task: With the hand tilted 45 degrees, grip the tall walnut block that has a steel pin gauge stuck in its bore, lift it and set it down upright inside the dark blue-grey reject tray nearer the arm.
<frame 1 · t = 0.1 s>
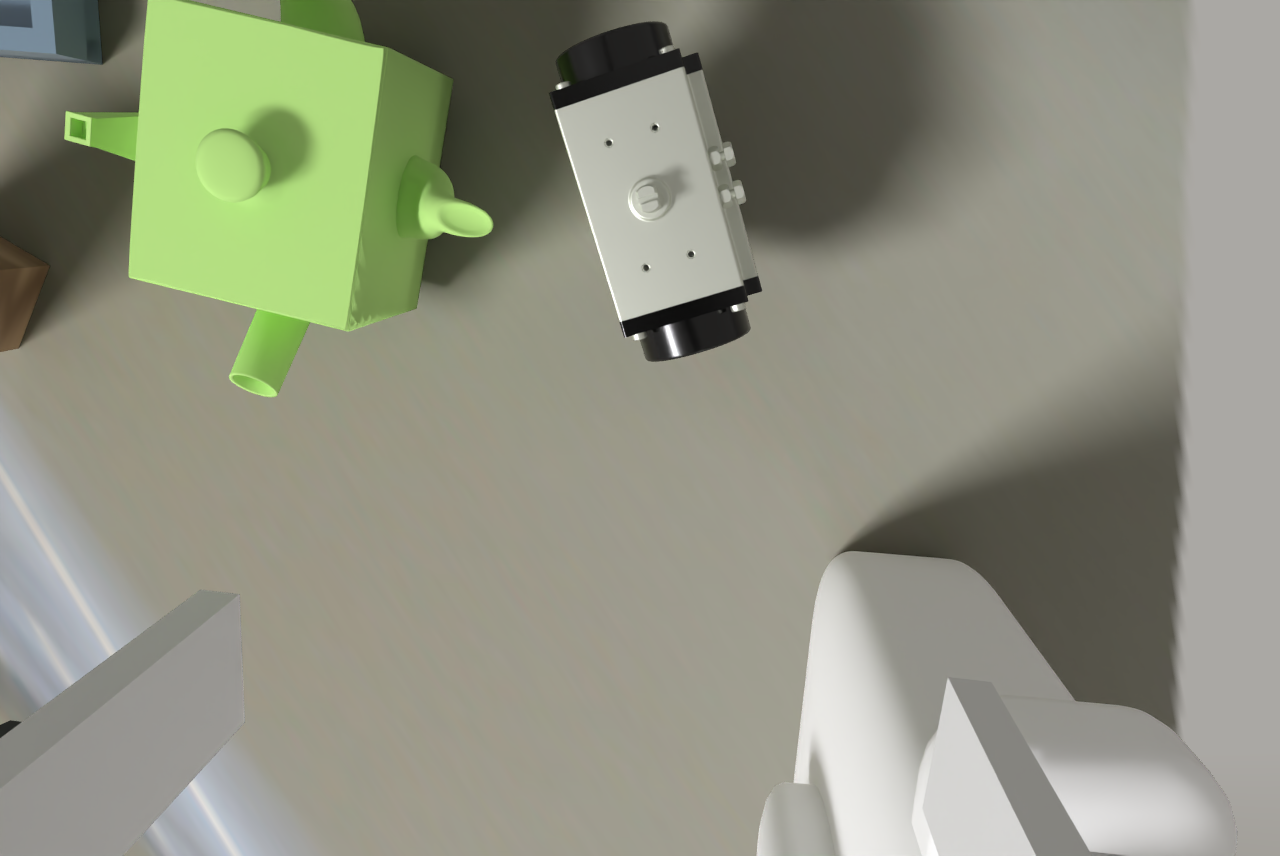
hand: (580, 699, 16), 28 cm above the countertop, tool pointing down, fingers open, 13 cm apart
kettle: (368, 173, 42), on the countertop
toaster: (845, 710, 47), on the countertop
pneumatic valve: (676, 198, 41), on the countertop
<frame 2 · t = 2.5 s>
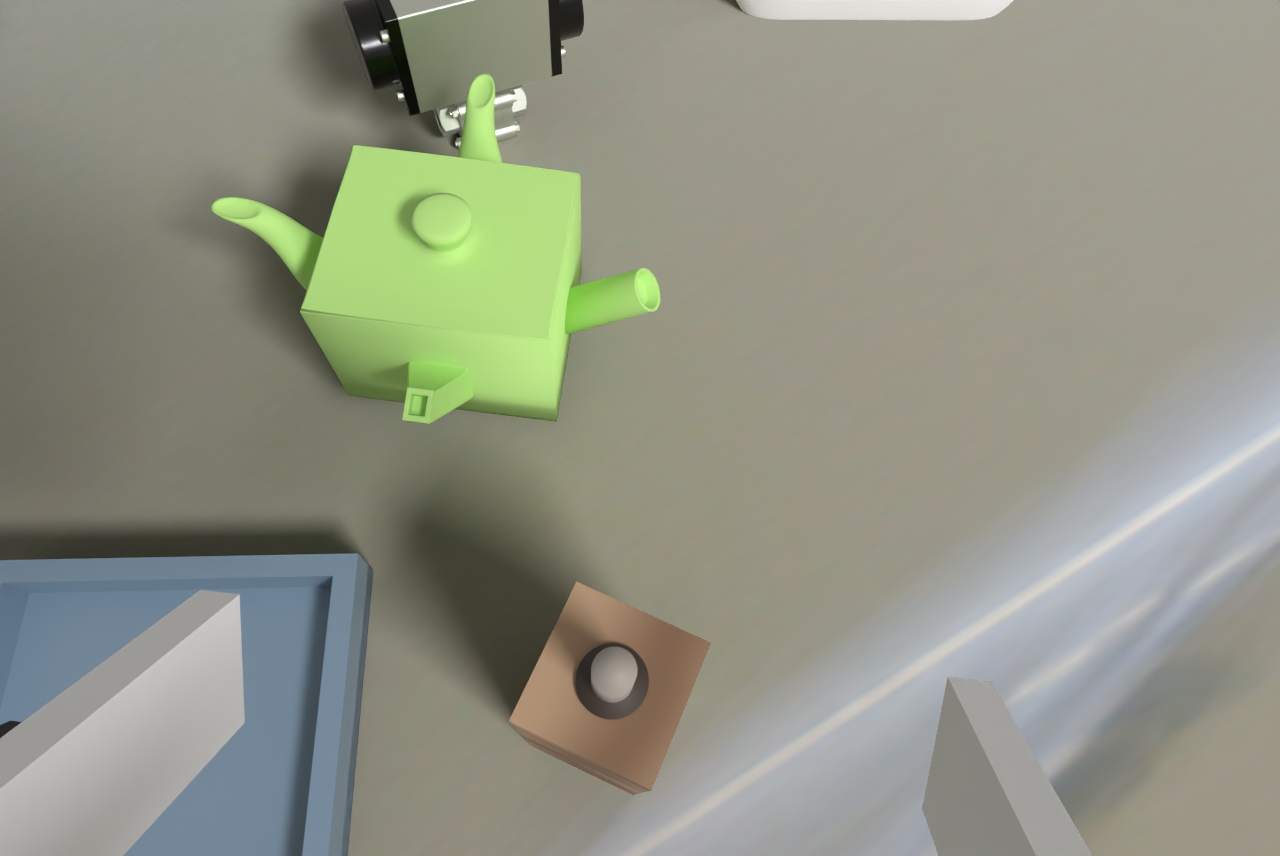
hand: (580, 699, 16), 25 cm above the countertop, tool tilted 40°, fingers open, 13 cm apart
kettle: (470, 336, 47), on the countertop
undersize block: (605, 716, 39), on the countertop
reject tray: (170, 753, 37), on the countertop
pneumatic valve: (480, 123, 53), on the countertop
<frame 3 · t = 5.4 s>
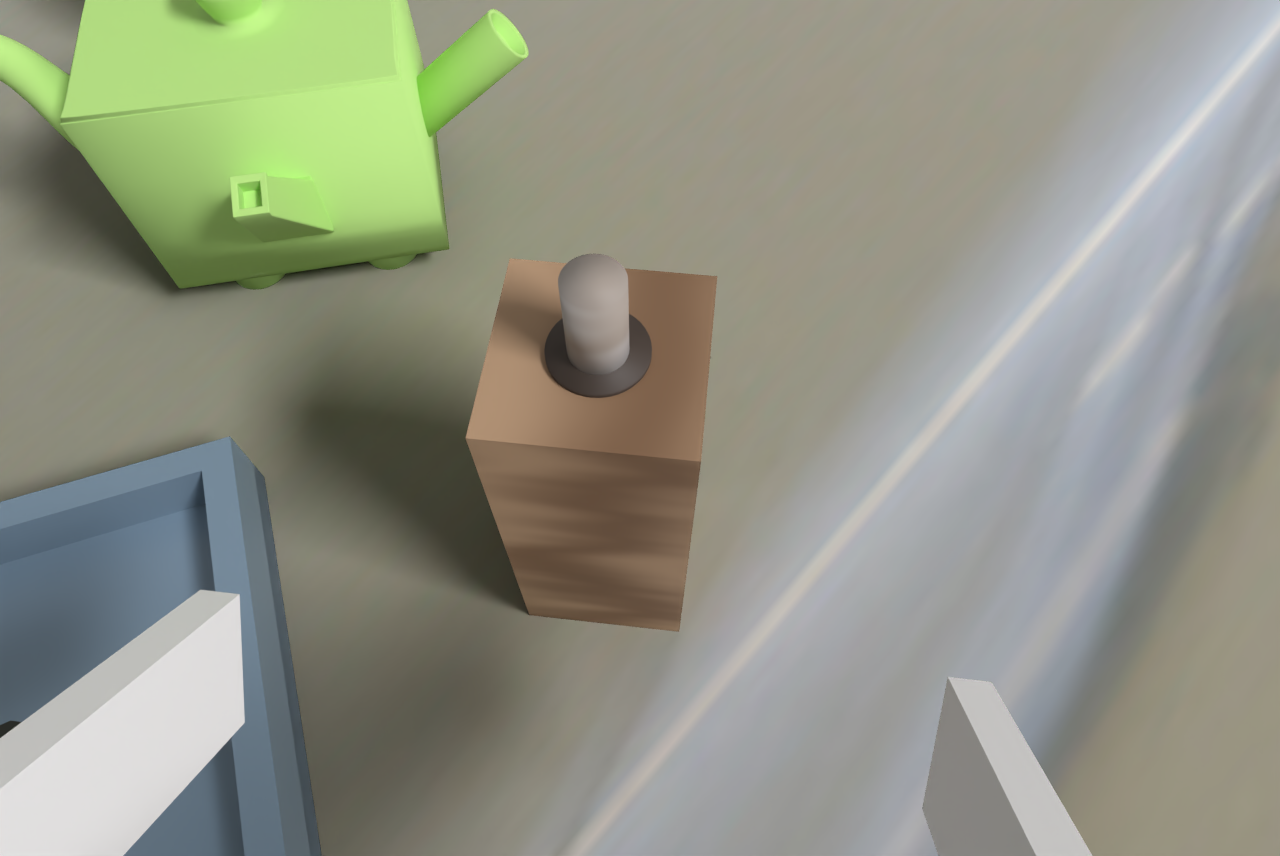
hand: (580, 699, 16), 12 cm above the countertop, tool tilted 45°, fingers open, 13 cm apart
kettle: (320, 206, 38), on the countertop
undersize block: (613, 552, 30), on the countertop
reject tray: (29, 778, 26), on the countertop
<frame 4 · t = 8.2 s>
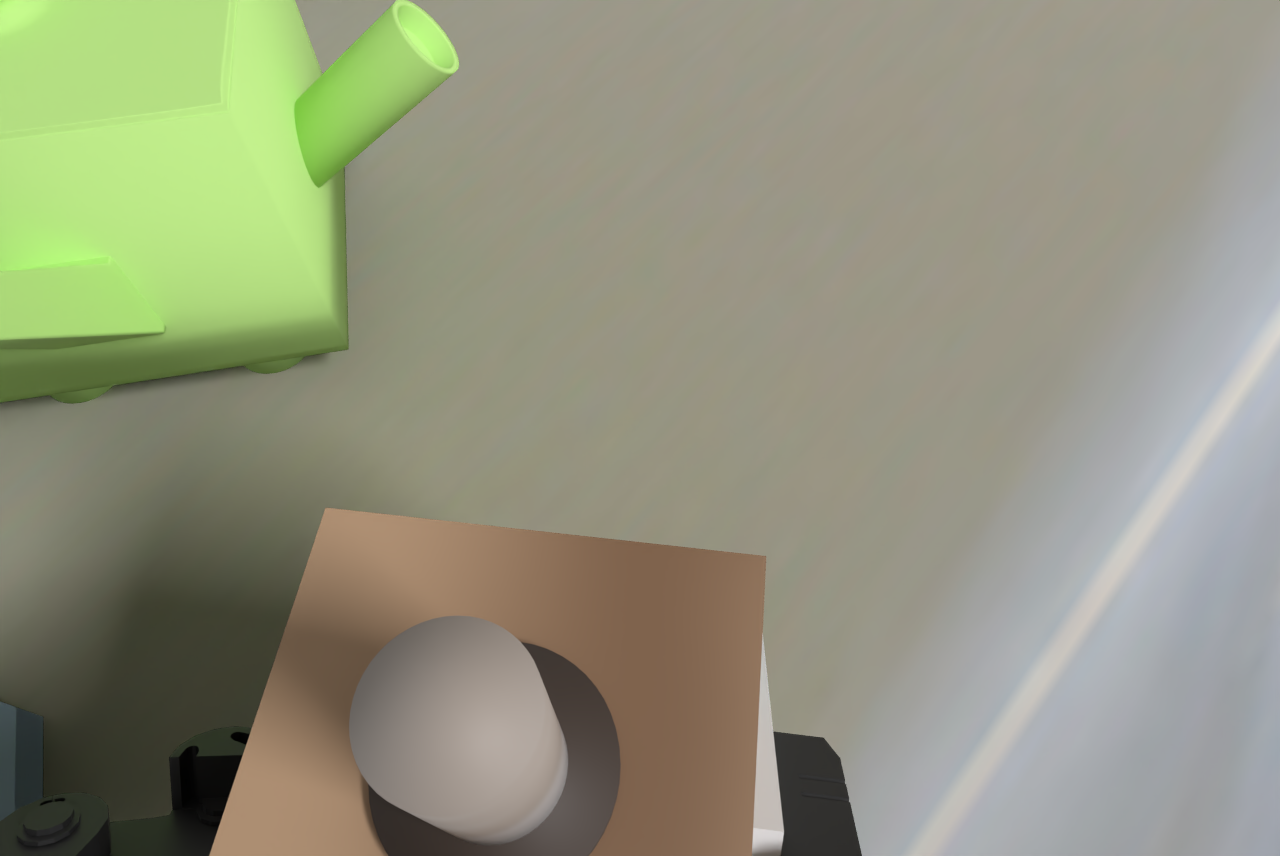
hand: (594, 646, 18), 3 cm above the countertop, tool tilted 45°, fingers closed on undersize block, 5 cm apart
kettle: (182, 277, 27), on the countertop
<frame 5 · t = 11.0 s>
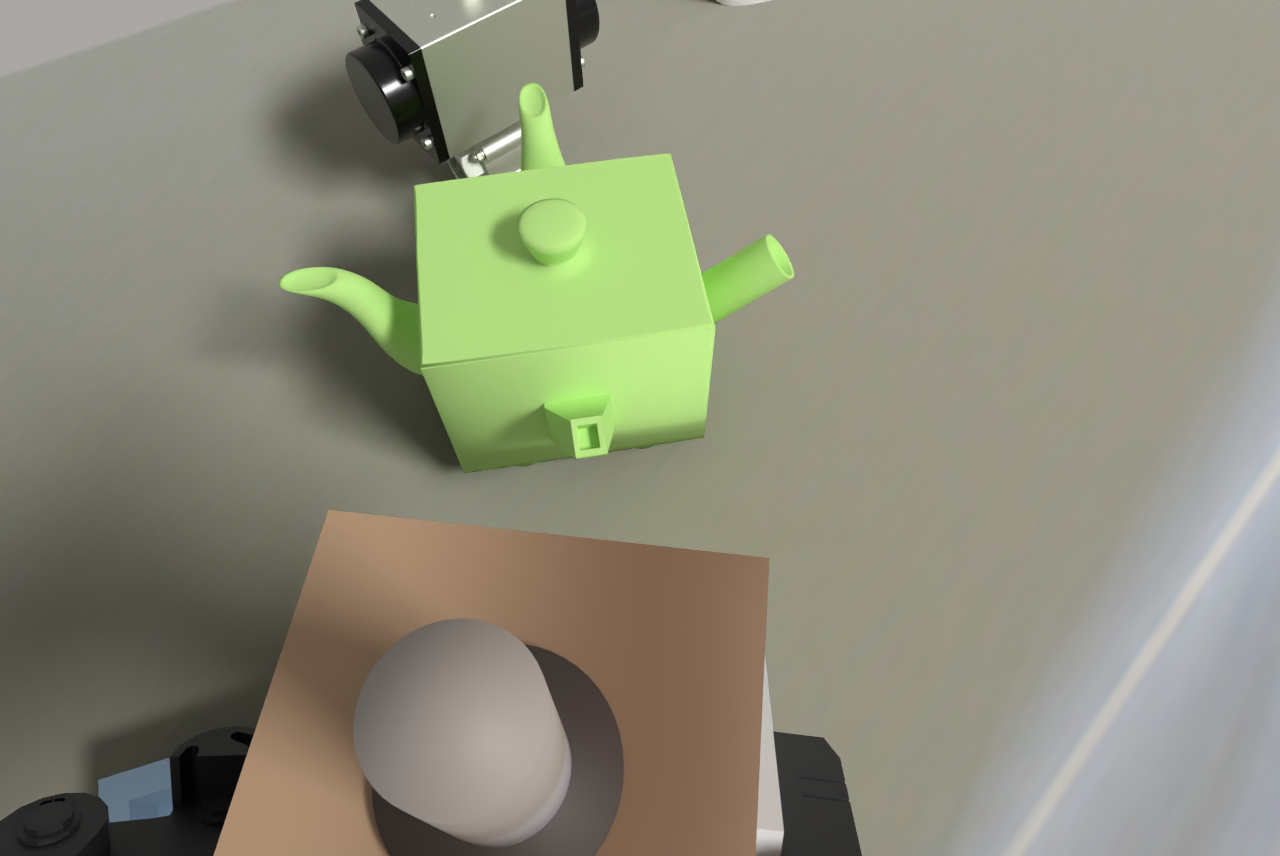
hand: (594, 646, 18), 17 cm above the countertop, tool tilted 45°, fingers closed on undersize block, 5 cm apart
kettle: (567, 379, 41), on the countertop
pneumatic valve: (497, 169, 49), on the countertop
when the fingers open (6 cm above the countertop, at t = 14.0 s): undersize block drops 1 cm, resting on reject tray.
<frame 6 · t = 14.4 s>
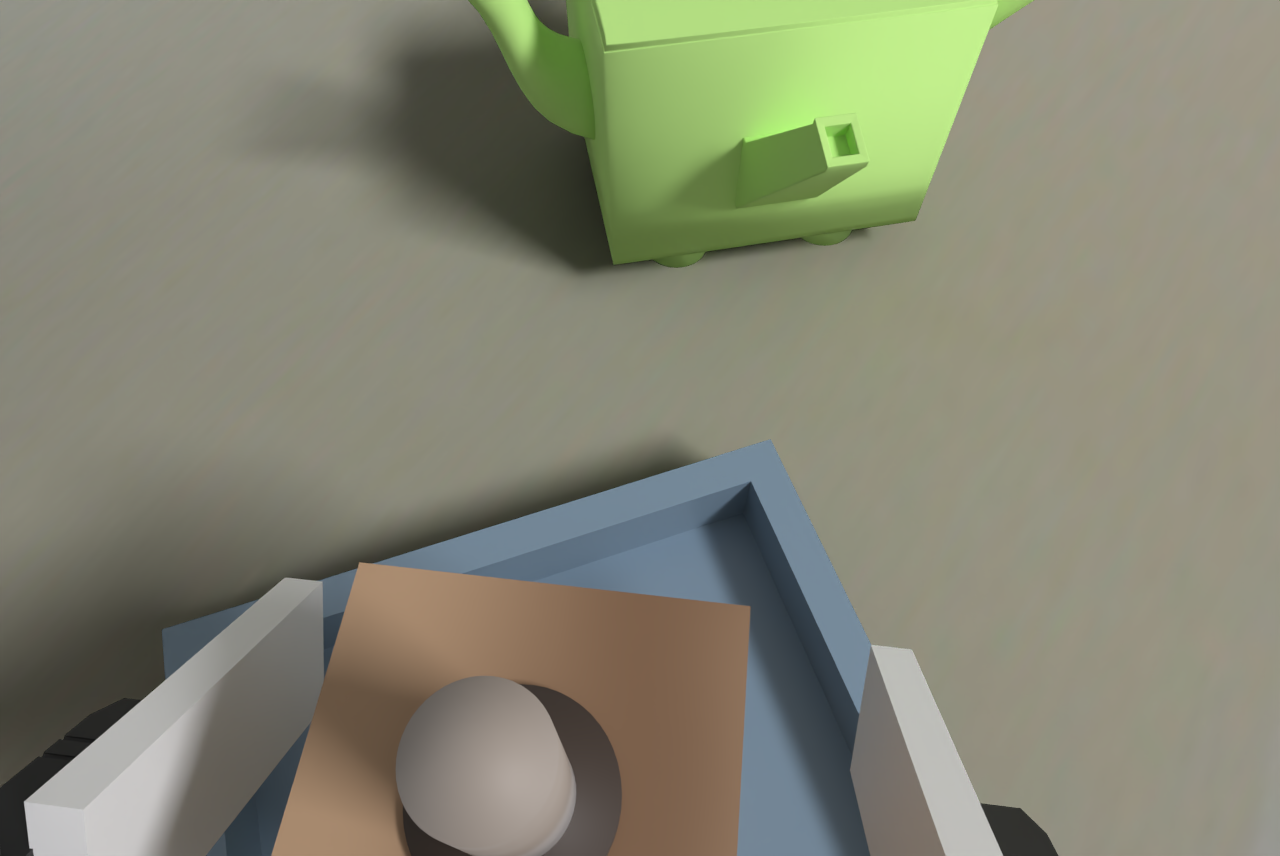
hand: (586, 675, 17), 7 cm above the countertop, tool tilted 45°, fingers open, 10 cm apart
kettle: (719, 174, 33), on the countertop
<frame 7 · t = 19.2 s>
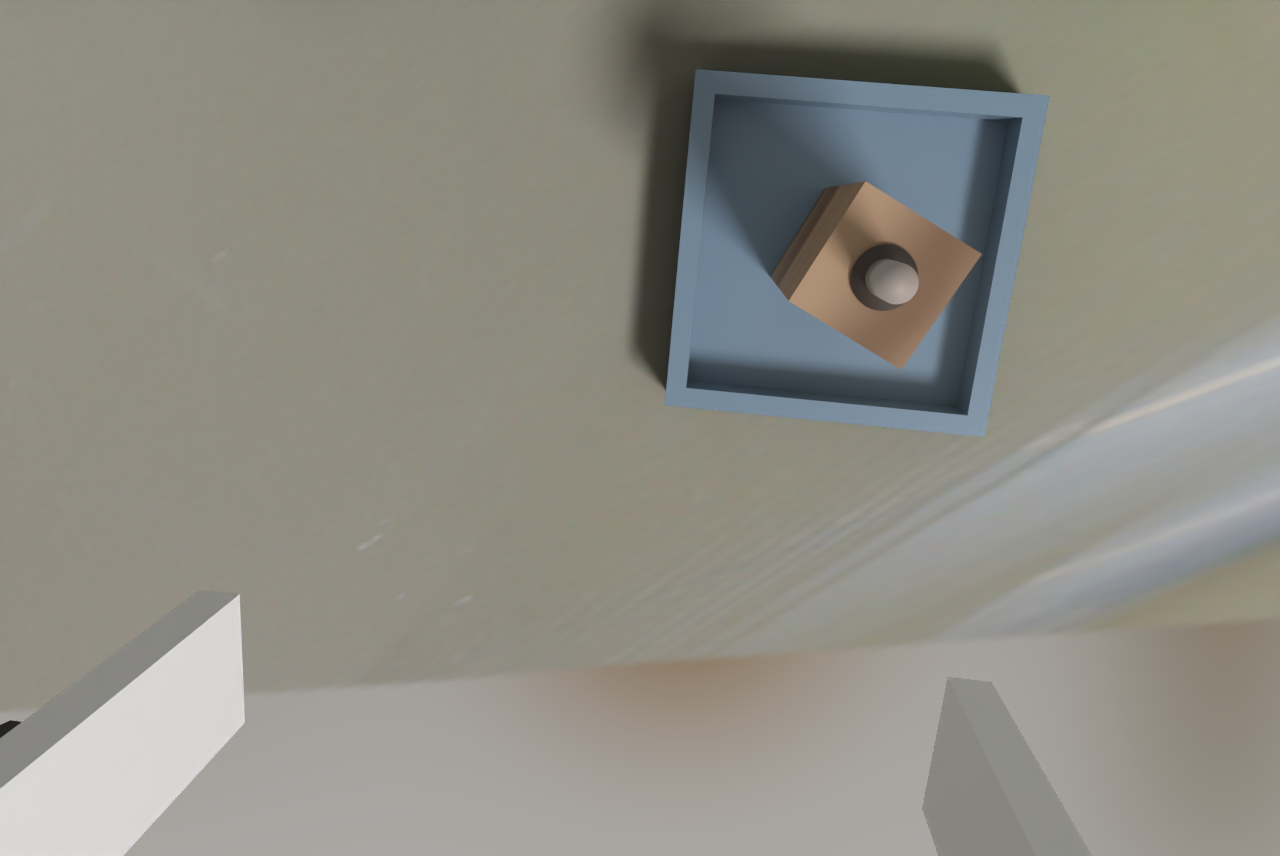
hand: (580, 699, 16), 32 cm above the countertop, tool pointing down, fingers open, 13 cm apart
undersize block: (838, 258, 43), point 1 cm above the countertop, touching reject tray
reject tray: (836, 256, 44), on the countertop
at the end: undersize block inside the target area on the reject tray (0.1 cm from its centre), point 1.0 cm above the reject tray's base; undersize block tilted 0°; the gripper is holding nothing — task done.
